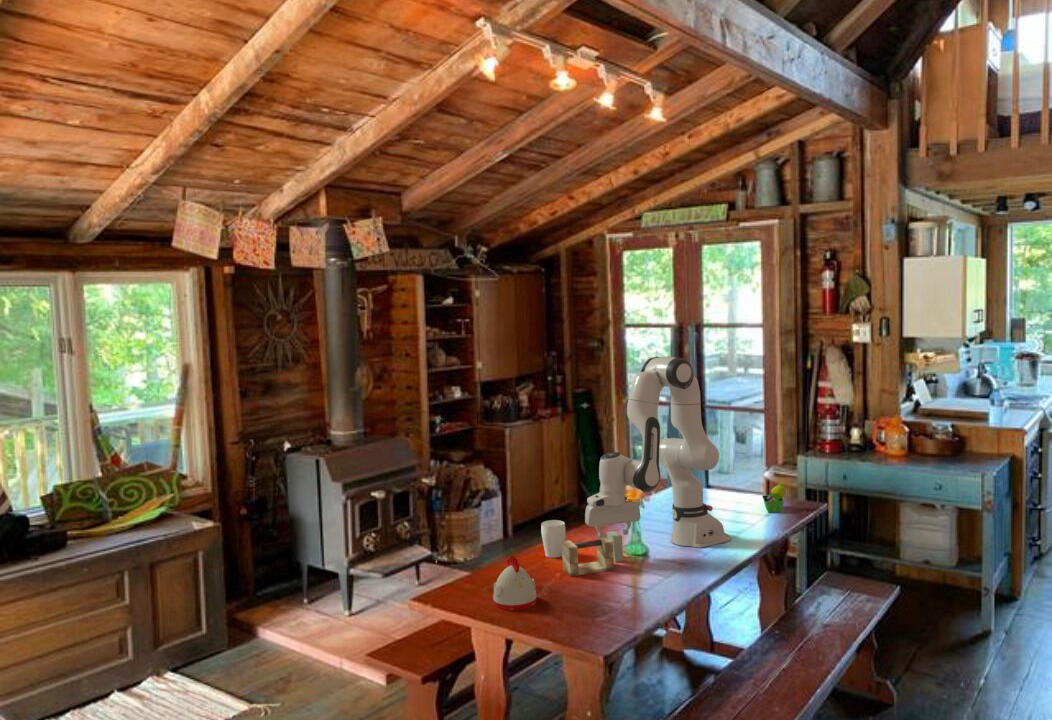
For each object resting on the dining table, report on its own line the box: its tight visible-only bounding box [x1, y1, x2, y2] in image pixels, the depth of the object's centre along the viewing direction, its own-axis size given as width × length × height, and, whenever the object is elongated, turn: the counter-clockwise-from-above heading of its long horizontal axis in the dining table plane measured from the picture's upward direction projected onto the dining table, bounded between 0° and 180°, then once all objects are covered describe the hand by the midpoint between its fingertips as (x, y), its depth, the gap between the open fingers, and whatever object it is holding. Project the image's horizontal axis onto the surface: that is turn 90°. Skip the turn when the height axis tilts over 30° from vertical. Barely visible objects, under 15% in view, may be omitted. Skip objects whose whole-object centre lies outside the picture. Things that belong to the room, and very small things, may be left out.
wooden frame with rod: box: [561, 535, 615, 577], centre depth 298 cm, size 16×8×10 cm, turn 106°
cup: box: [540, 519, 566, 559], centre depth 316 cm, size 9×9×12 cm
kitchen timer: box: [492, 554, 538, 611], centre depth 271 cm, size 14×14×15 cm
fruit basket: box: [762, 483, 786, 514], centre depth 360 cm, size 11×9×11 cm
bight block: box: [606, 530, 624, 563], centre depth 308 cm, size 3×7×9 cm, turn 16°
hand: (613, 535), depth 308 cm, fingers open, 8 cm apart
